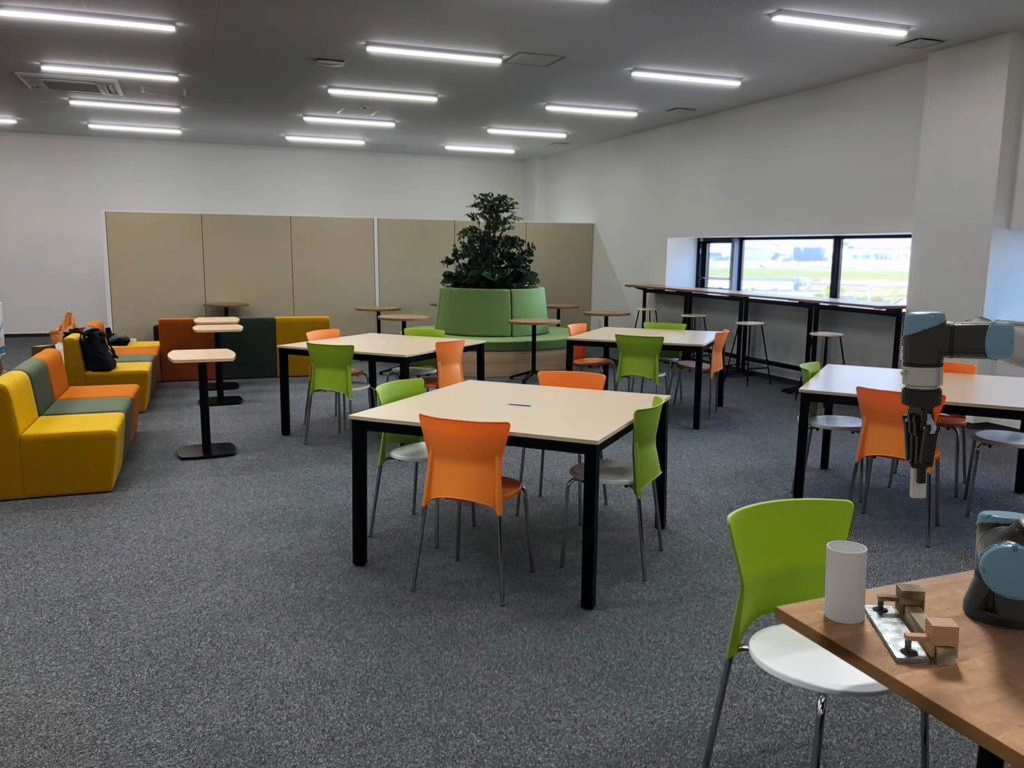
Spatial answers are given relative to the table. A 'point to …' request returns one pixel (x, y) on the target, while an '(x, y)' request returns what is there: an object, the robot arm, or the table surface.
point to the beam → (917, 624)
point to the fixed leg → (904, 597)
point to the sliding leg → (936, 635)
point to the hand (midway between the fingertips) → (917, 497)
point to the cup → (845, 582)
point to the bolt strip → (895, 635)
